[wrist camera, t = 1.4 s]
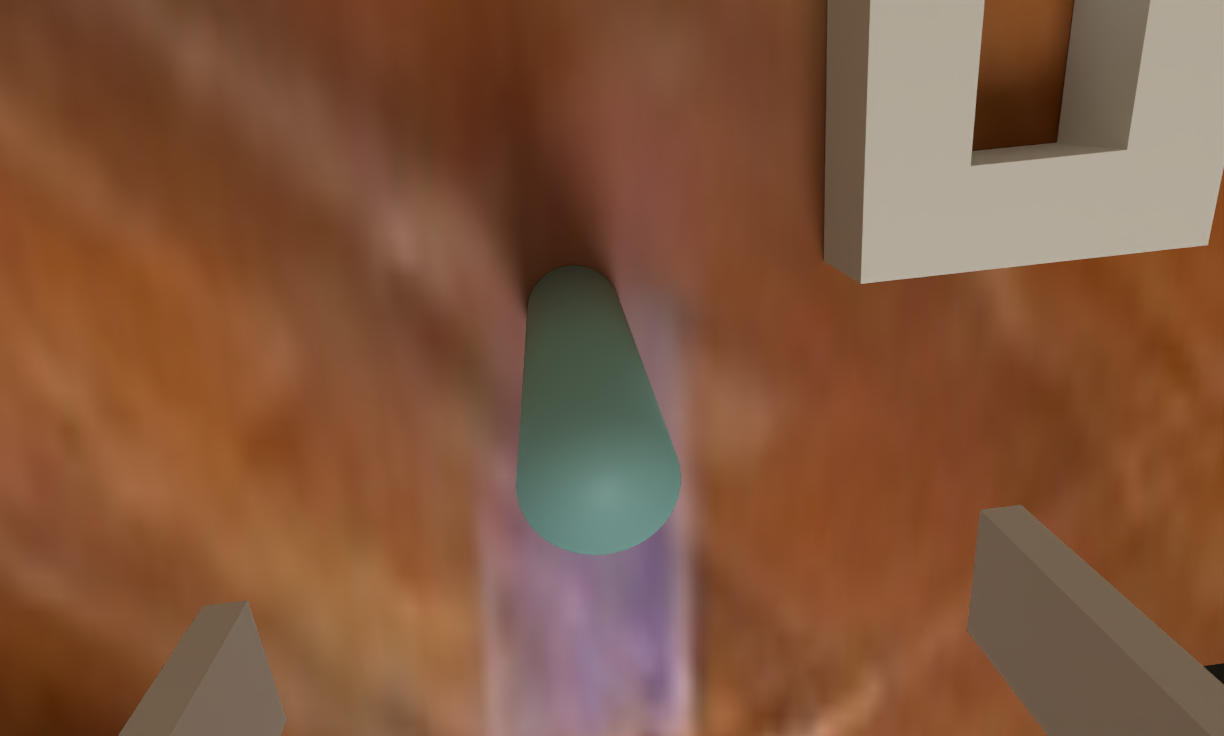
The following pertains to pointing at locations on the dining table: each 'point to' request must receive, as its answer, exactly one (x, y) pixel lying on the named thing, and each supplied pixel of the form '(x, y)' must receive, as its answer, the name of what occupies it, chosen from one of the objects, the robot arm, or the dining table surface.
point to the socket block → (1024, 175)
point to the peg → (589, 422)
